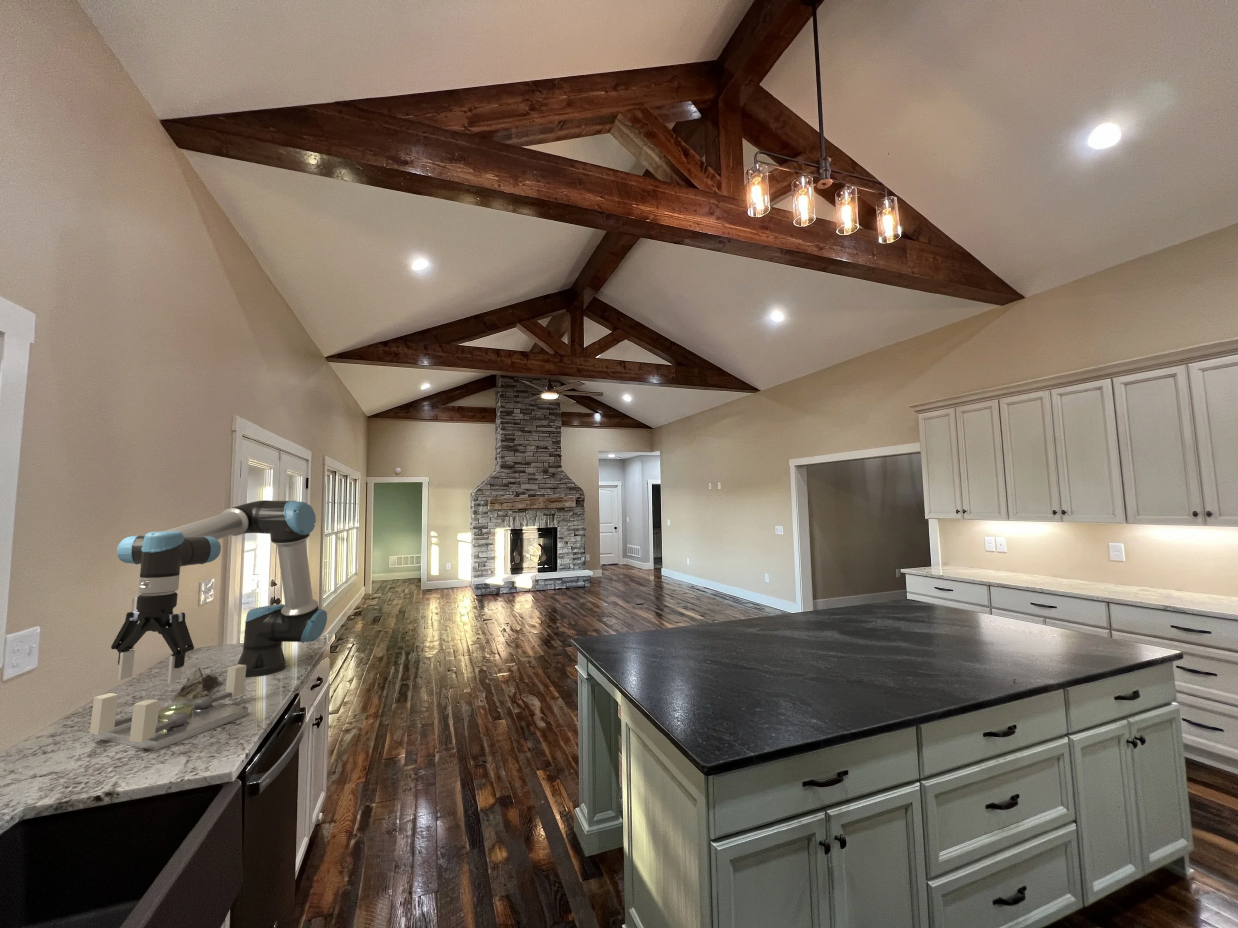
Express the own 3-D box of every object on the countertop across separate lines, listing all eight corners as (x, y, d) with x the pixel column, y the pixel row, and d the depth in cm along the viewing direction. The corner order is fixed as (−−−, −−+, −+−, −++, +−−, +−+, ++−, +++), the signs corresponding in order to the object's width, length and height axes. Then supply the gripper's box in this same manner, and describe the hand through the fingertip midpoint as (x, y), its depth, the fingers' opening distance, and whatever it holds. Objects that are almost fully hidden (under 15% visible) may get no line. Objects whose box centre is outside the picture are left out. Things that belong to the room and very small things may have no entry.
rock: (204, 699, 152) (195, 668, 153) (164, 715, 149) (155, 683, 150) (233, 684, 169) (225, 656, 170) (198, 698, 166) (189, 669, 167)
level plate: (189, 705, 149) (191, 685, 150) (247, 714, 143) (249, 694, 144) (91, 737, 127) (94, 714, 128) (155, 750, 121) (158, 726, 122)
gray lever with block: (200, 709, 140) (203, 677, 140) (190, 707, 141) (193, 676, 142) (244, 694, 152) (247, 665, 153) (234, 692, 153) (237, 664, 154)
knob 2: (177, 719, 132) (180, 686, 133) (191, 720, 132) (194, 687, 133) (127, 741, 120) (132, 704, 121) (143, 741, 120) (147, 704, 121)
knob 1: (148, 713, 136) (152, 681, 137) (158, 715, 135) (162, 682, 136) (88, 732, 124) (93, 696, 125) (99, 734, 123) (103, 698, 124)
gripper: (97, 593, 123) (87, 682, 121) (188, 597, 120) (180, 687, 118) (129, 588, 130) (120, 671, 128) (216, 592, 128) (209, 677, 126)
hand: (149, 679), depth 123 cm, fingers open, 13 cm apart
